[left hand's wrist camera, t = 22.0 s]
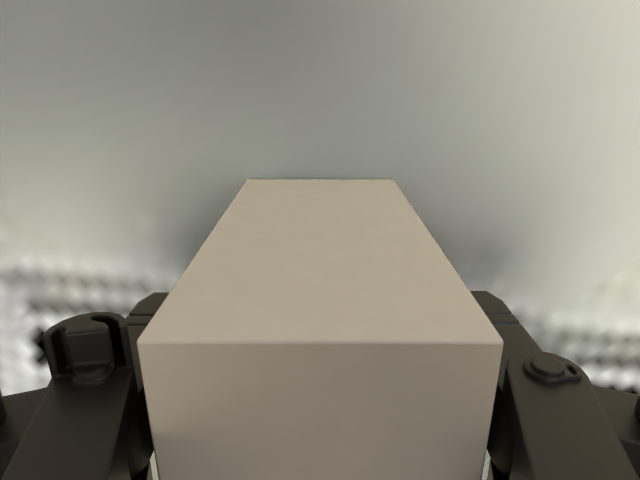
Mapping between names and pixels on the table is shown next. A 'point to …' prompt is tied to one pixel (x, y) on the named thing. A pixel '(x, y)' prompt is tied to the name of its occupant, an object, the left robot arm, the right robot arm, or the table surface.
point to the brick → (320, 345)
